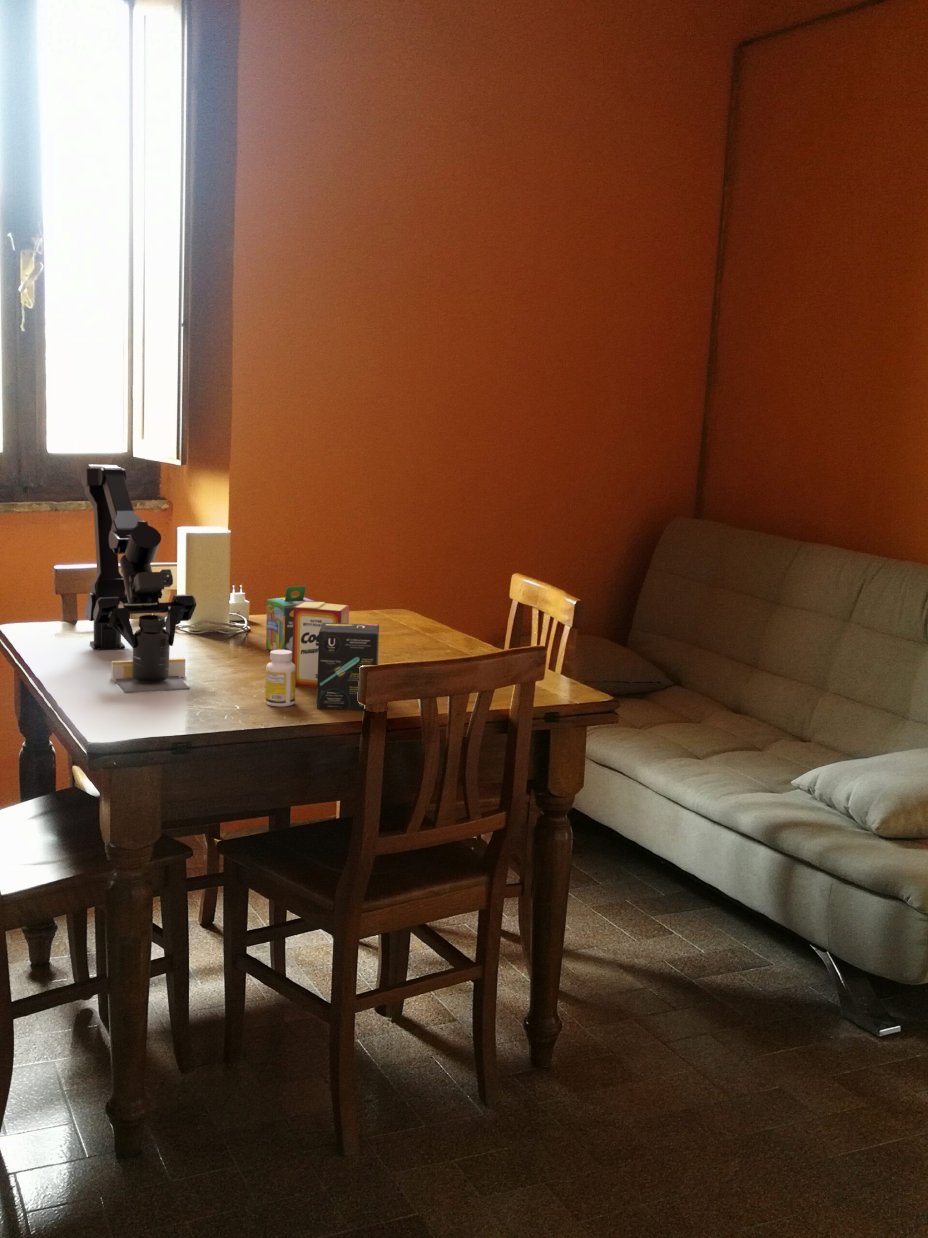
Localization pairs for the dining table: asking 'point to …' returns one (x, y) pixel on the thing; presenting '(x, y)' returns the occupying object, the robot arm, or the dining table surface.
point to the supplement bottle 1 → (151, 650)
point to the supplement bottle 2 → (280, 679)
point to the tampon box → (344, 662)
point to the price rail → (125, 668)
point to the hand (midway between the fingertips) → (153, 645)
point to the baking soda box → (312, 636)
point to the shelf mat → (152, 685)
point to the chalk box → (282, 619)
